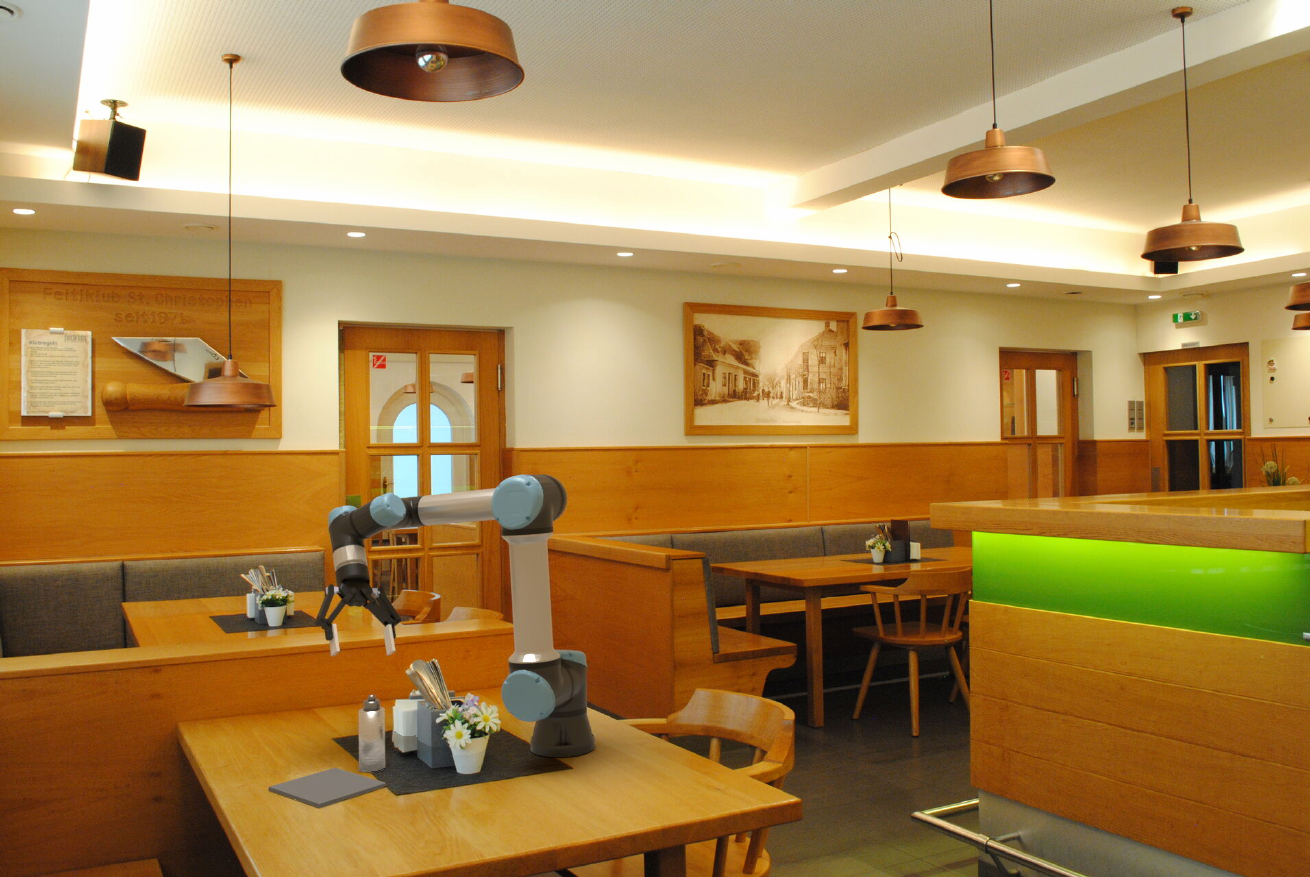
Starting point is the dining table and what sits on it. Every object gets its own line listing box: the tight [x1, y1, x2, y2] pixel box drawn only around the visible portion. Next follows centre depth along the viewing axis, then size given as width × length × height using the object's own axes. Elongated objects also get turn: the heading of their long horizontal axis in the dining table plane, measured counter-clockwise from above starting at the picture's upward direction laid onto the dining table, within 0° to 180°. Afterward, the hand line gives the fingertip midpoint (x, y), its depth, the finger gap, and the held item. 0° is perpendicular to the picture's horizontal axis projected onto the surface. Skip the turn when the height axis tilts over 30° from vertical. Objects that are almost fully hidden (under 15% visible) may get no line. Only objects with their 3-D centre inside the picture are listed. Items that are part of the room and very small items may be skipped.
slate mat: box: [268, 767, 387, 809], centre depth 209 cm, size 18×16×1 cm
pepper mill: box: [358, 694, 386, 773], centre depth 223 cm, size 6×6×16 cm
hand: (363, 653), depth 226 cm, fingers open, 13 cm apart
